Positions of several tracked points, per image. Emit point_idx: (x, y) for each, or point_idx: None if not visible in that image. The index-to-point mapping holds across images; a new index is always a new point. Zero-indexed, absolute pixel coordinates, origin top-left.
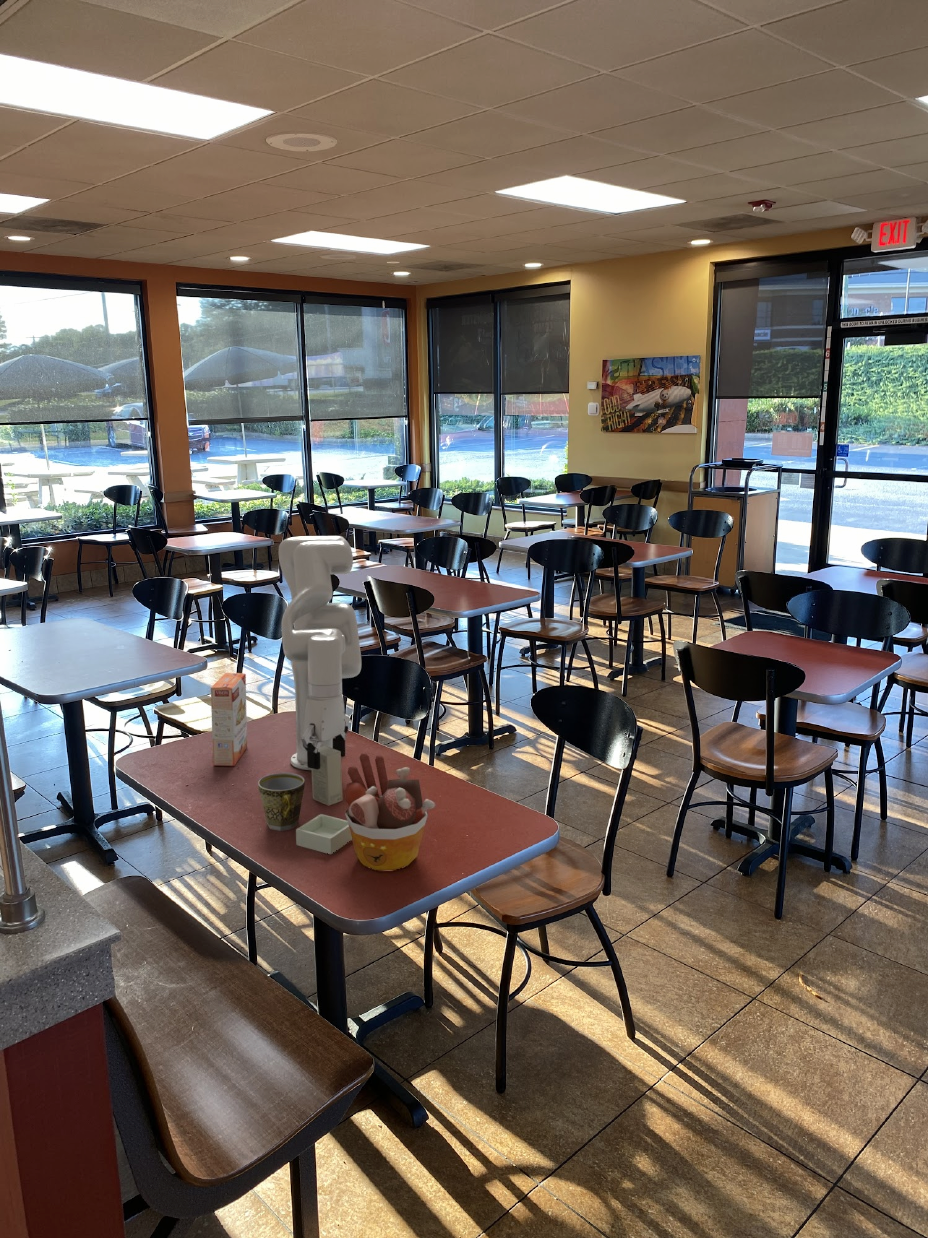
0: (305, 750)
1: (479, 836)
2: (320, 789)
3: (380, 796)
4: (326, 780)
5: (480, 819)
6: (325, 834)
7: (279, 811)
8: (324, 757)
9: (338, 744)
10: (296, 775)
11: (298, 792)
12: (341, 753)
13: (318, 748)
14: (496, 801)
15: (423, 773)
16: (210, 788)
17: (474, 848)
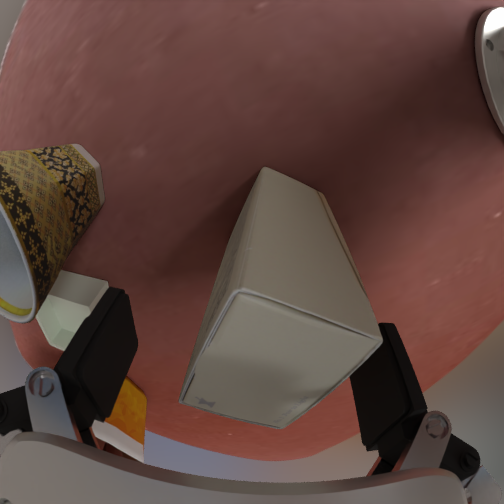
0: (33, 370)
1: (233, 439)
2: (234, 232)
3: (114, 446)
4: (210, 296)
5: (283, 437)
6: (81, 309)
7: (9, 233)
8: (184, 383)
9: (374, 411)
10: (29, 273)
11: (14, 302)
12: (354, 378)
13: (88, 438)
14: (347, 435)
15: (463, 346)
16: None
17: (201, 437)
